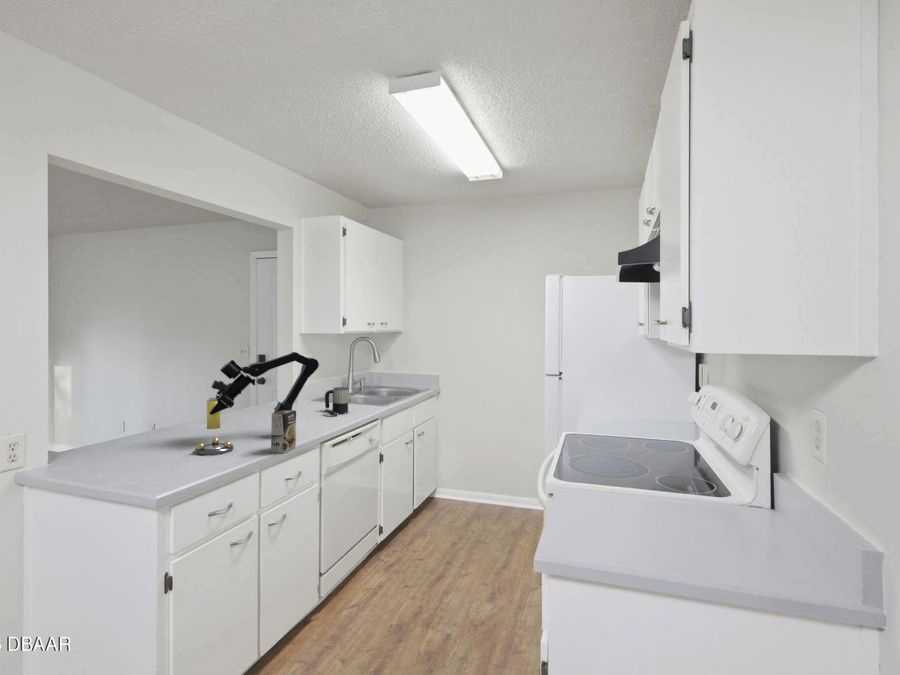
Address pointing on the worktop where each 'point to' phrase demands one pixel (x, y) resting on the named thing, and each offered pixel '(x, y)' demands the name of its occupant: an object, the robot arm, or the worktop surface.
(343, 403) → the milk frother
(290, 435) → the coffee box
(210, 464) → the worktop surface
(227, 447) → the base plate
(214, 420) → the yellow cylinder
